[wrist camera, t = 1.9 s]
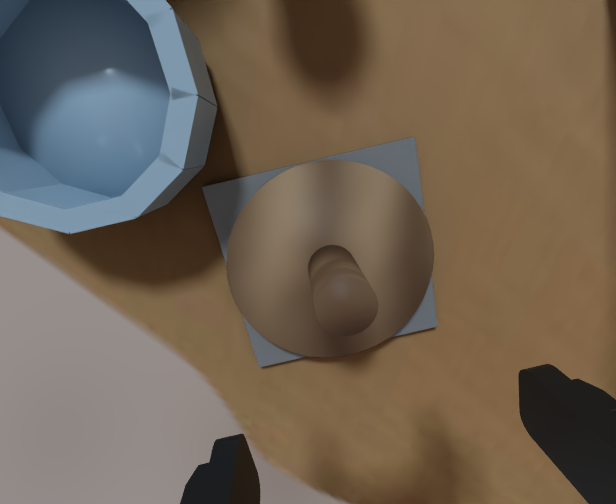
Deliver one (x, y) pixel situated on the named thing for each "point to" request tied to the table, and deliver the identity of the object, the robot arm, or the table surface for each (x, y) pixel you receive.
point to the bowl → (98, 110)
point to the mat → (236, 193)
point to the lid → (329, 258)
